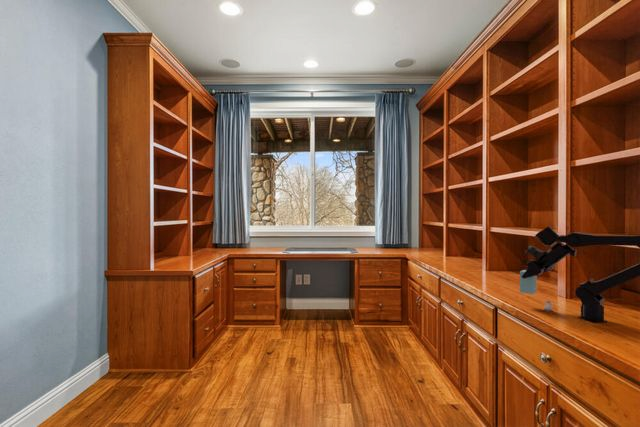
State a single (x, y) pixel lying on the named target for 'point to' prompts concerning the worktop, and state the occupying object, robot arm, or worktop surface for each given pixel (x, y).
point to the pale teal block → (528, 284)
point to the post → (548, 306)
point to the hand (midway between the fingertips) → (524, 276)
